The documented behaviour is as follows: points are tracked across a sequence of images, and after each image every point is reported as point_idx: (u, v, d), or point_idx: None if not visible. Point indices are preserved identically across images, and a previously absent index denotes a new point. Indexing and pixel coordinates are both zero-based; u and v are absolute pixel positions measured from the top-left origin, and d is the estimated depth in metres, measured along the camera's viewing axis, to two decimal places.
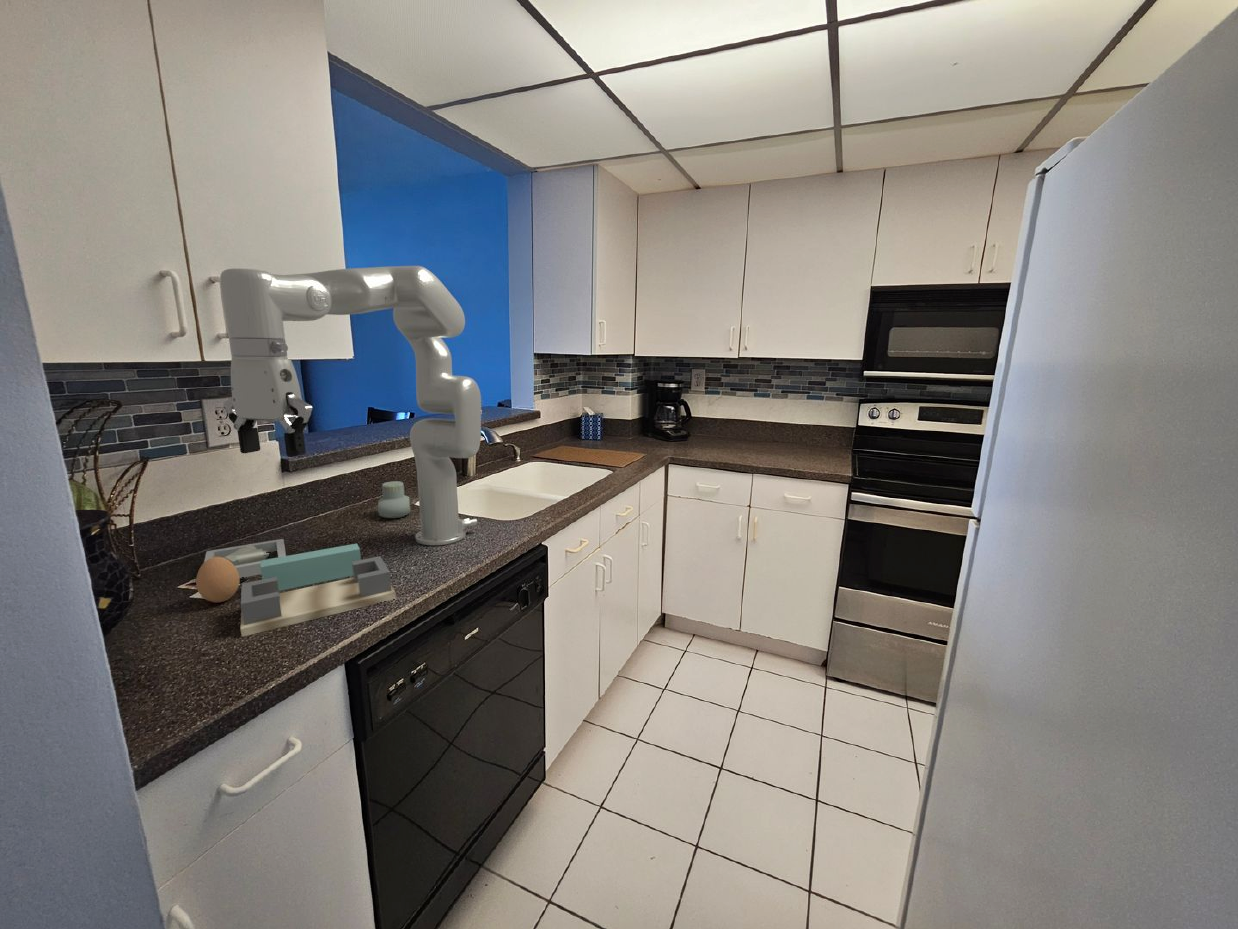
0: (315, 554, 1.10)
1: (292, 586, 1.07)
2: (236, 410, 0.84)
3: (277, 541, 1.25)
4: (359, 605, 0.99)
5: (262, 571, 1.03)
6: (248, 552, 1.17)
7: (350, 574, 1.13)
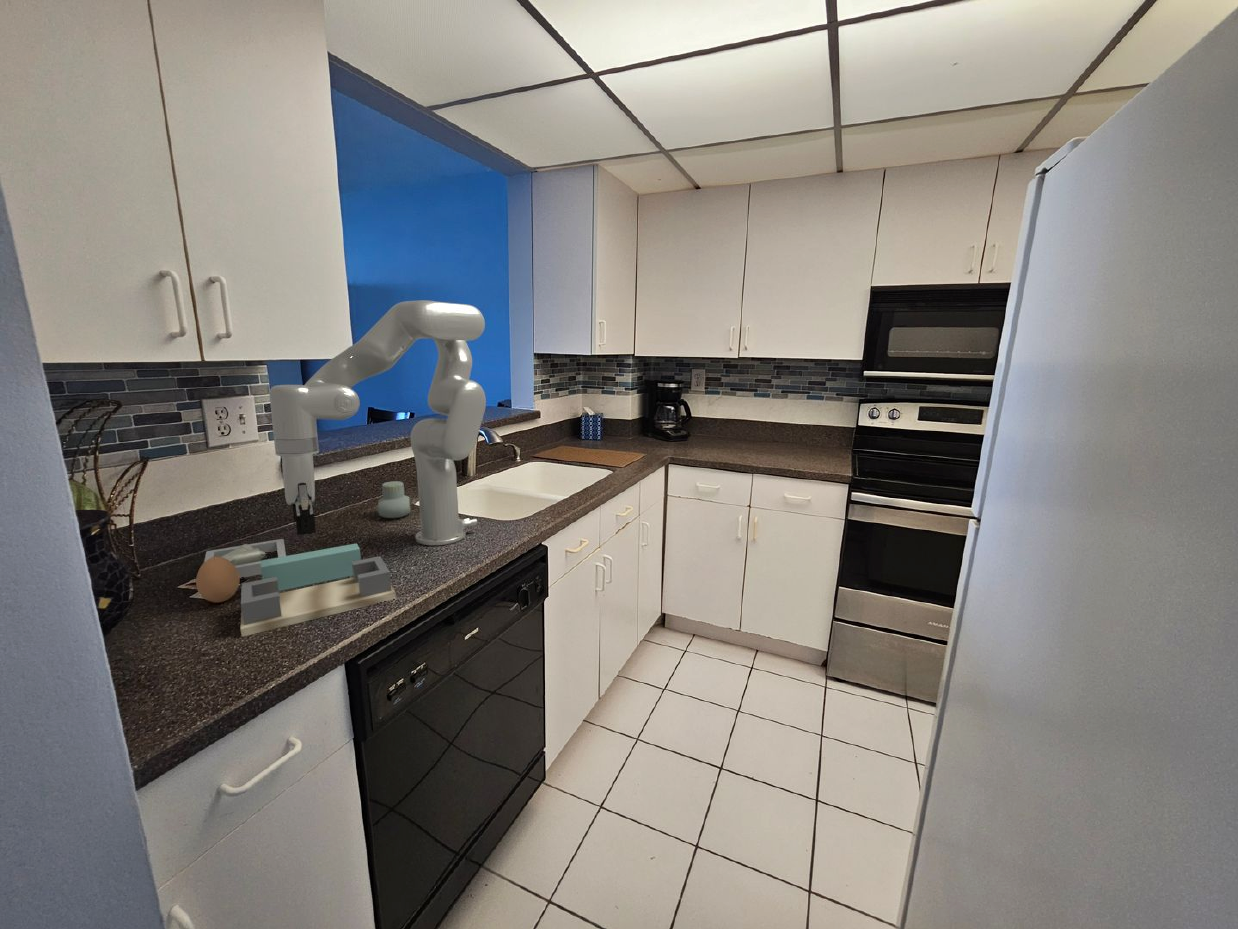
0: (315, 554, 1.10)
1: (292, 586, 1.07)
2: (314, 495, 1.04)
3: (277, 541, 1.25)
4: (359, 605, 0.99)
5: (262, 571, 1.03)
6: (245, 552, 1.17)
7: (350, 574, 1.13)
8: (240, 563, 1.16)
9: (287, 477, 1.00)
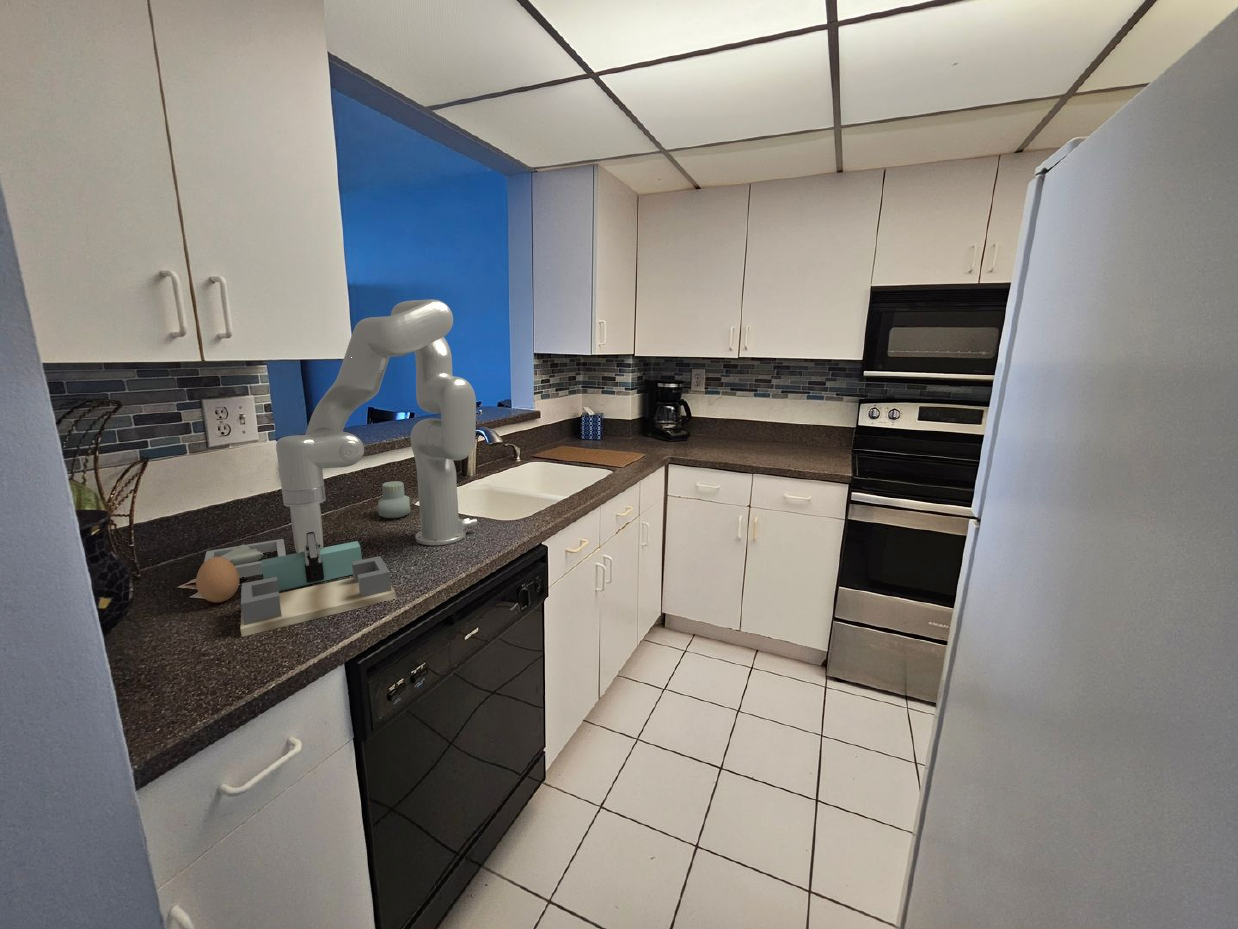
0: None
1: (294, 585, 1.07)
2: None
3: (277, 541, 1.25)
4: (359, 605, 0.99)
5: (263, 570, 1.03)
6: (242, 552, 1.17)
7: (351, 572, 1.13)
8: (238, 563, 1.16)
9: (296, 527, 1.03)
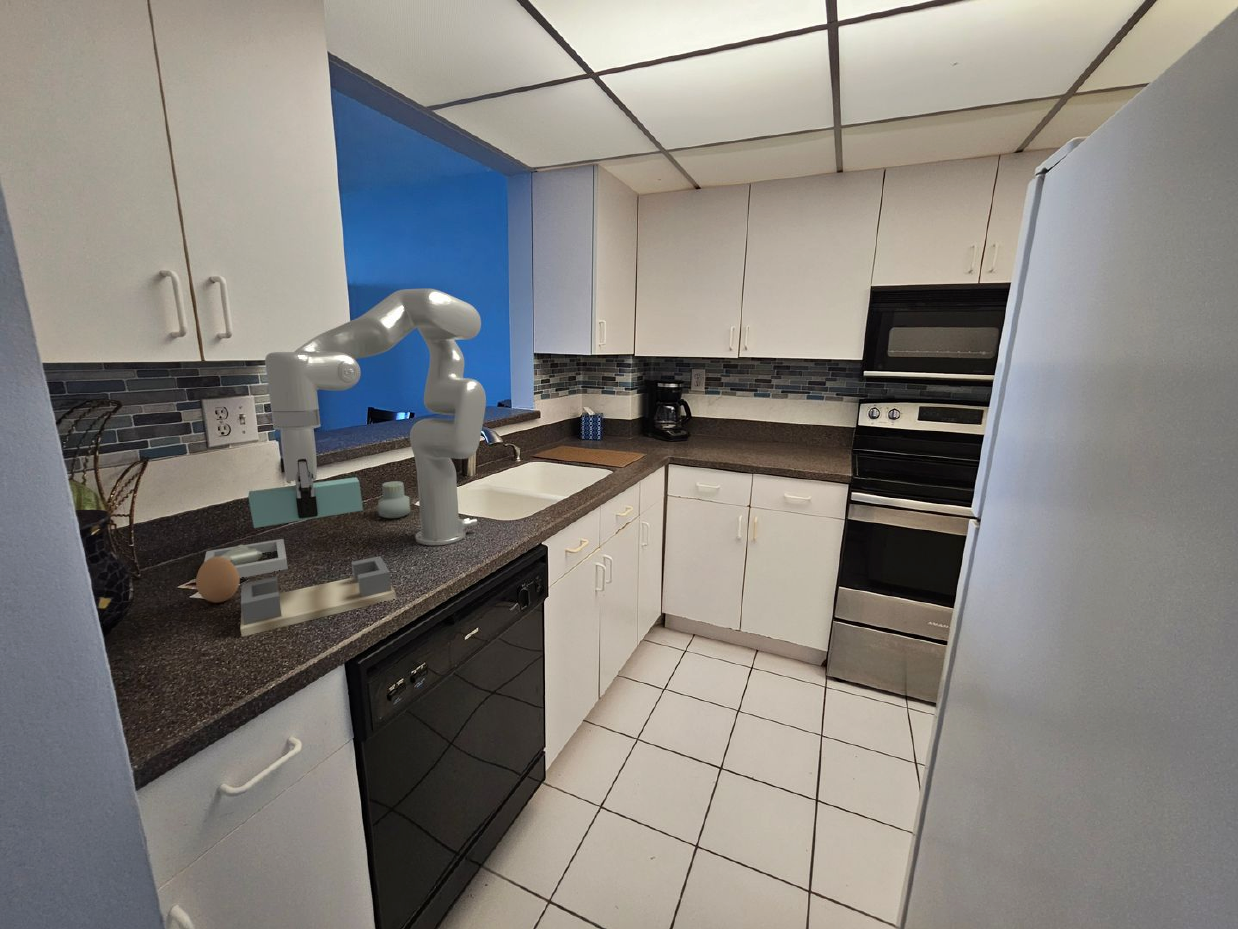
0: None
1: (285, 520, 0.96)
2: (316, 473, 0.95)
3: (277, 541, 1.25)
4: (359, 605, 0.99)
5: (250, 501, 0.92)
6: (242, 552, 1.17)
7: (349, 509, 1.01)
8: (238, 563, 1.16)
9: (286, 452, 0.92)
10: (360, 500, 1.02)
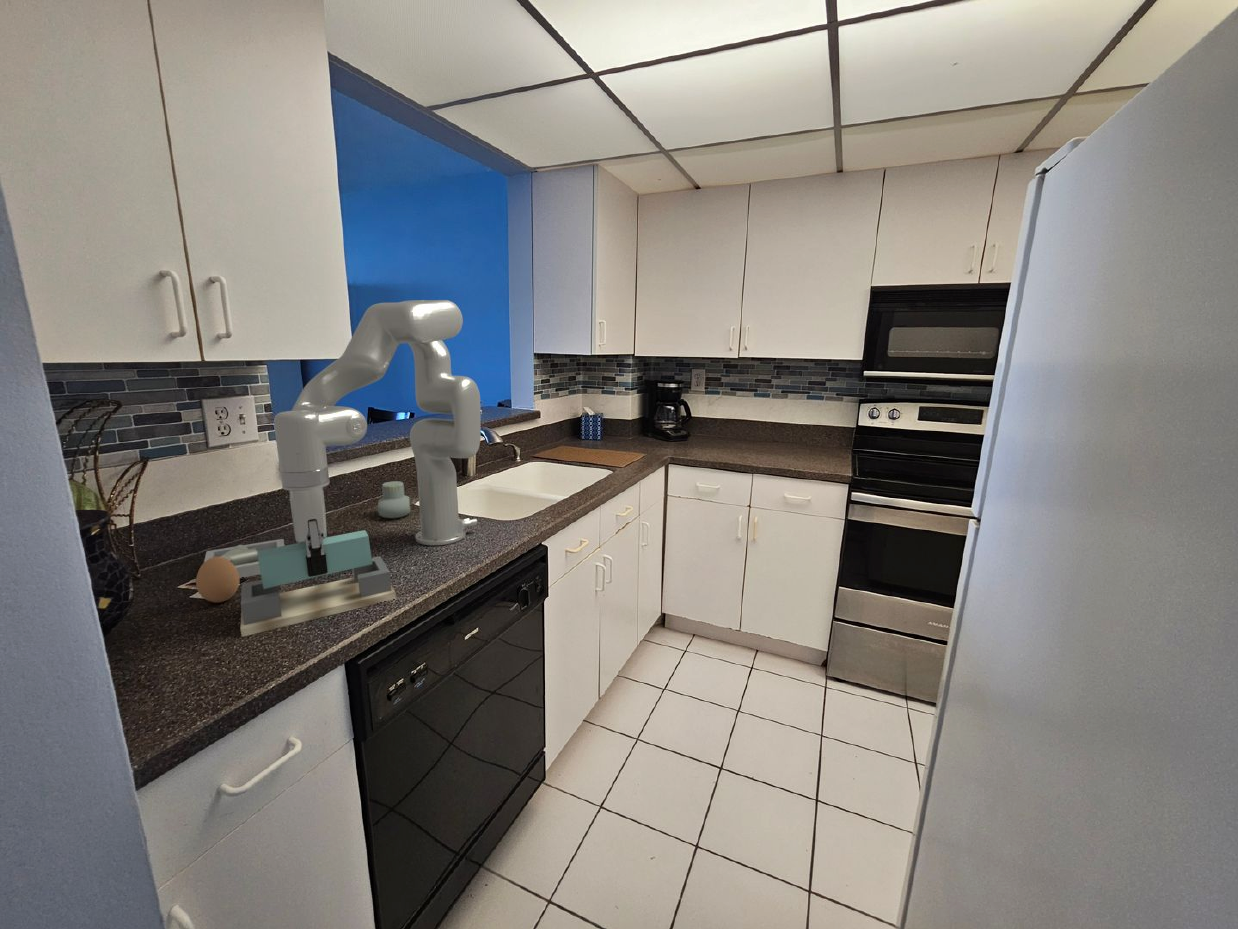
0: None
1: (294, 579, 0.95)
2: (326, 532, 0.95)
3: (277, 541, 1.25)
4: (359, 605, 0.99)
5: (260, 562, 0.91)
6: (241, 552, 1.17)
7: (359, 564, 1.01)
8: (237, 563, 1.16)
9: (296, 514, 0.91)
10: (369, 554, 1.02)
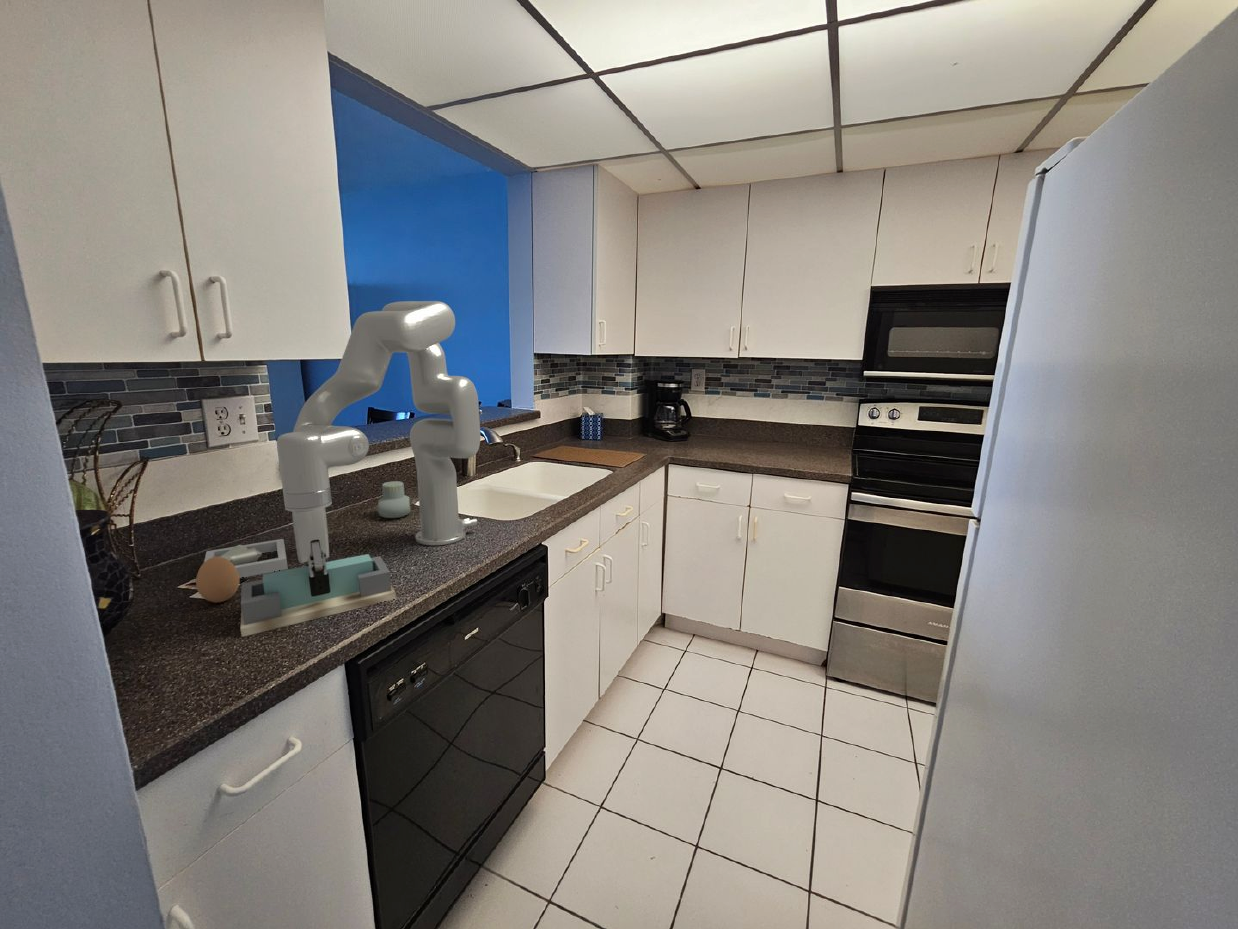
0: None
1: (298, 602, 0.96)
2: None
3: (277, 541, 1.25)
4: (359, 605, 0.99)
5: (265, 587, 0.93)
6: (241, 552, 1.17)
7: None
8: (237, 563, 1.16)
9: (299, 535, 0.92)
10: None
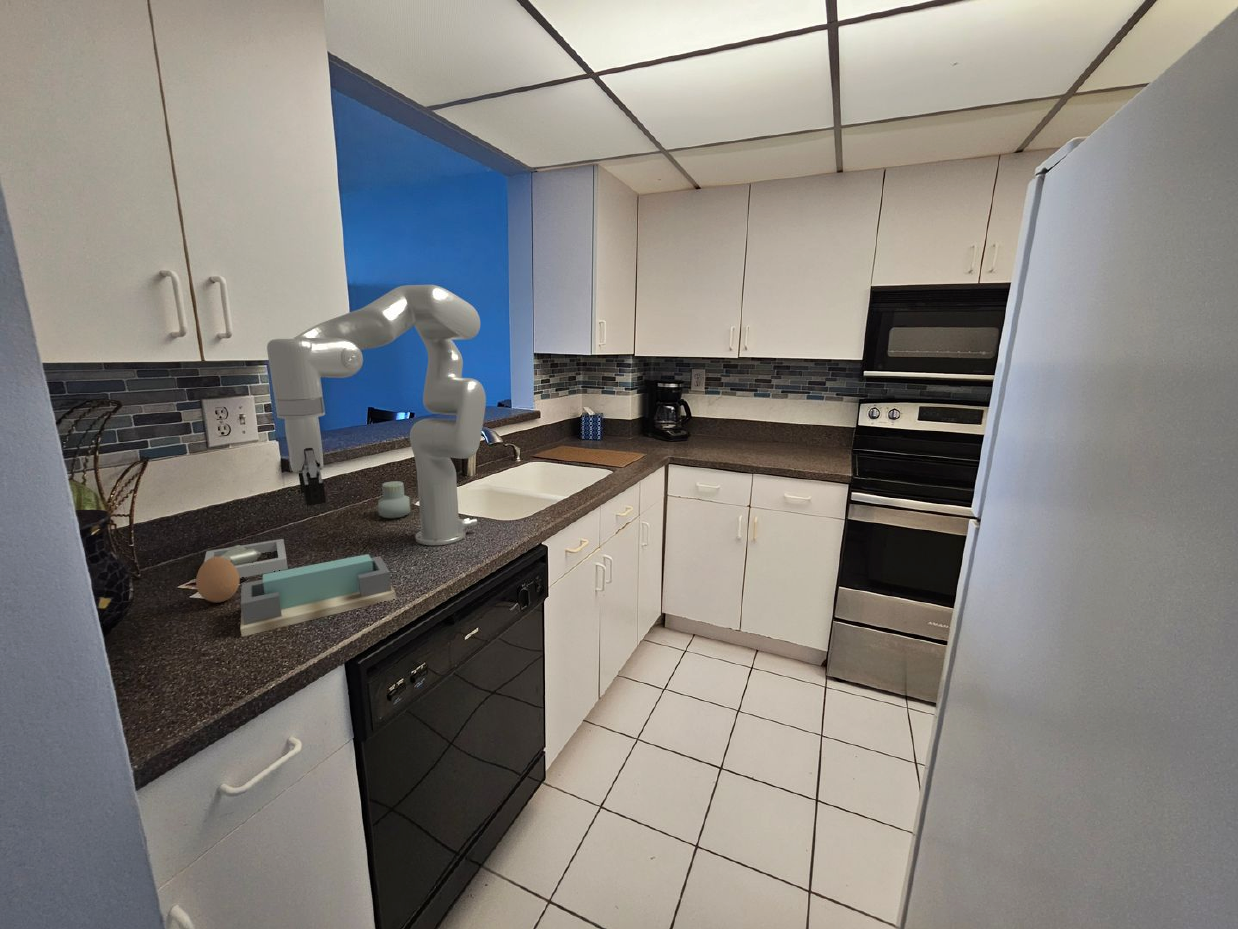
0: (323, 566, 0.99)
1: (298, 602, 0.96)
2: None
3: (277, 541, 1.25)
4: (359, 605, 0.99)
5: (265, 587, 0.93)
6: (241, 552, 1.17)
7: None
8: (237, 563, 1.16)
9: (292, 442, 0.90)
10: None
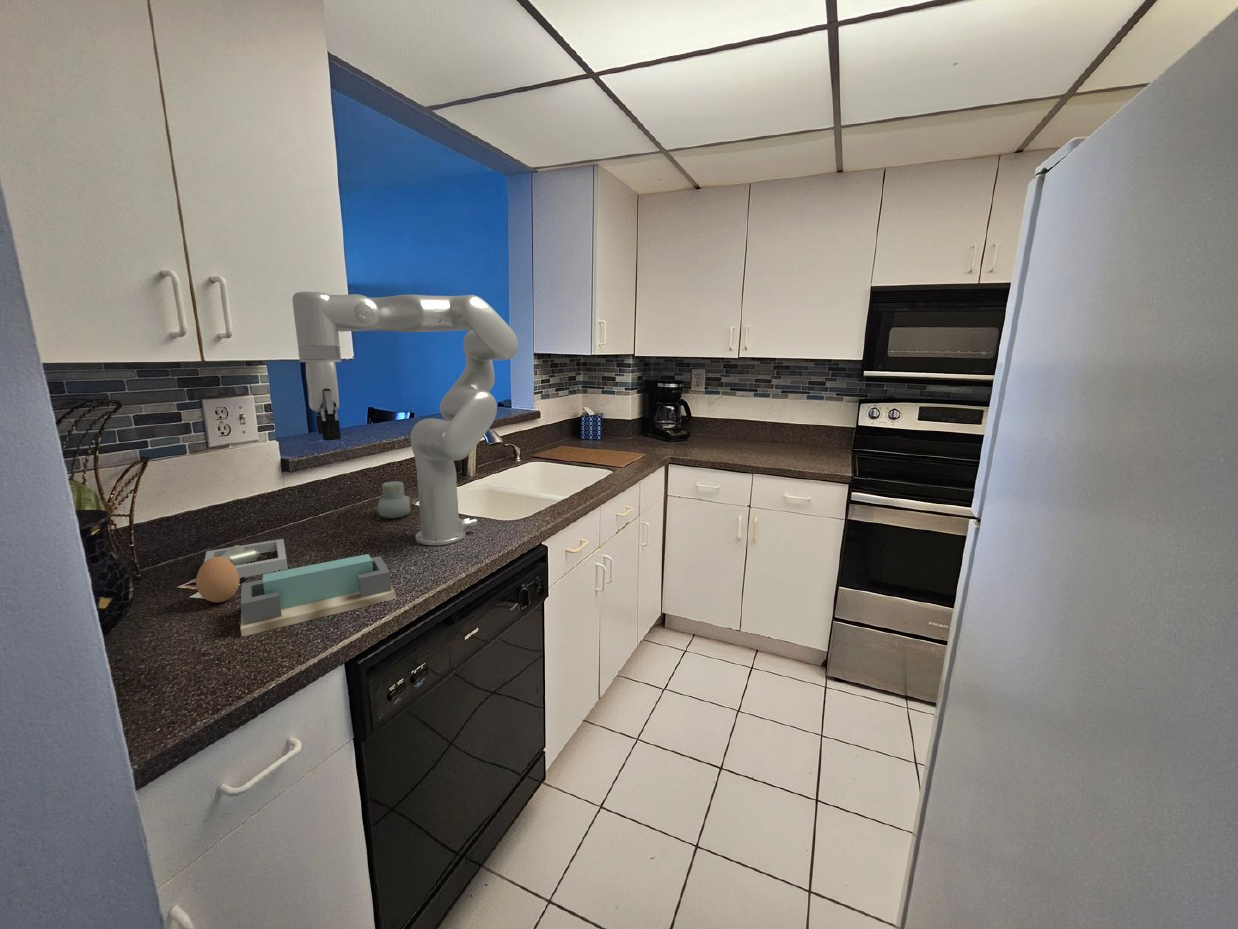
0: (323, 566, 0.99)
1: (298, 602, 0.96)
2: (338, 403, 1.06)
3: (277, 541, 1.25)
4: (359, 605, 0.99)
5: (265, 587, 0.93)
6: (240, 552, 1.17)
7: None
8: (237, 563, 1.16)
9: (312, 382, 1.02)
10: None
